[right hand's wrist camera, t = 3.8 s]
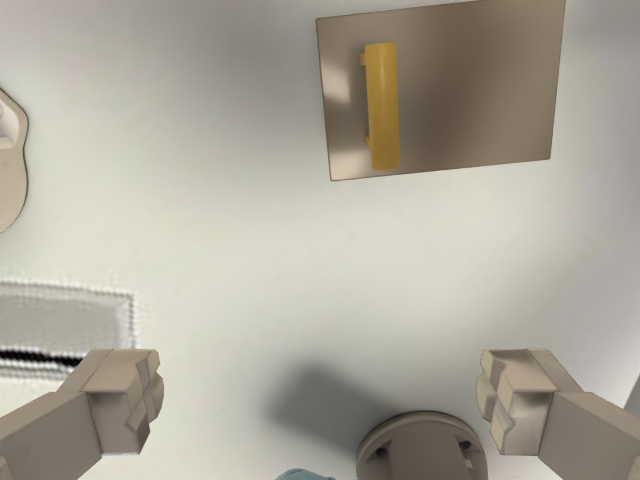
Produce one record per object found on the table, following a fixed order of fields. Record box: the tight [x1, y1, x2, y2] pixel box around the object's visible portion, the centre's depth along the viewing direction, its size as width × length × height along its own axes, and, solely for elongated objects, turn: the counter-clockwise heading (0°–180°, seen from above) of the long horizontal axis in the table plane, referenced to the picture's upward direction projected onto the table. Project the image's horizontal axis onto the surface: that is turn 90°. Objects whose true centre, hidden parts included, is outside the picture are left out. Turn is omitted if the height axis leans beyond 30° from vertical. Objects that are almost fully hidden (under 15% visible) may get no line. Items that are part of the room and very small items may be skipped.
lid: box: [316, 0, 566, 181], centre depth 24 cm, size 15×10×8 cm
